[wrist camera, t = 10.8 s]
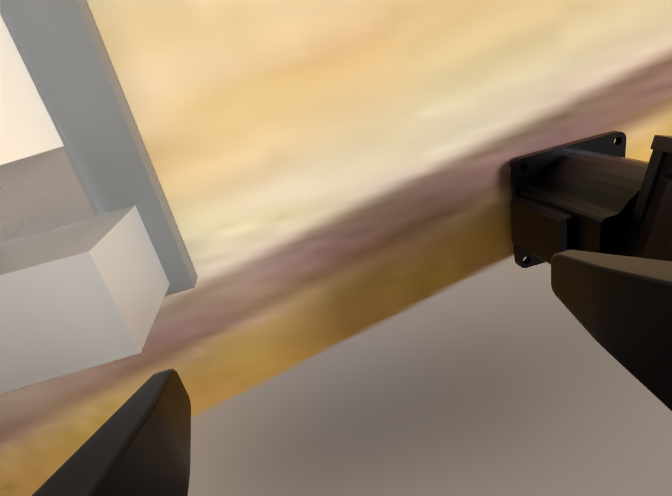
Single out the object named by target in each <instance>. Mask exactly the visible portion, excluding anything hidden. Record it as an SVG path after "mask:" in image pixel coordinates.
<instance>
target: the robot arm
mask: <svg viewBox="0 0 672 496" xmlns="http://www.w3.org/2000/svg"><path fill="white" fill-rule="evenodd" d="M615 138H616V142H615V143H614V140H615ZM650 149H653V152H652V155H651V158H650V161H649V162H645V161H640V160H634V159H629V158H625V150H626V135H625V134H624V133H623V132H619V131H612V132H608V133H604V134H600V135H597V136H593V137H589V138H586V139H582V140H578V141H575V142H571V143H567V144H564V145H560V146H556V147H553V148H549V149H545V150H542V151H538V152H534V153H530V154H527V155H523V156H519V157H517V158H515V159H514V160H513V162H512V164H511V168H510V169H511V190H512V199H511V201H510V208H511V228H512V241H513V242H514V255H515V262H516V263H517V265H519V266H521V267H523V268H527V267H531V266H534V265H537V264H541V263H544V262H547V263H549V264H551V286H552V289H553V292H554V293H555V295H556V296H557V297H558V298H559V299H560V300H561V302H562V303H563V304H564V305H565V306H566V307H567V309H569V311H570V312H571V313H572V314H573V315H574V316H575V317H576V319H577V320H578V321H579V322H580V323H581V324H582V325H583V327H584V328H585V329H586V330H587V331H588V332H589V333H590V334H591V336H592V337H593V338H594V339H595V340H596V341H597V342H598V343H599V344H600V345H601V346H602V347H603V348H604V349H606V351H608V352H609V353H610V354H611V355H612V356H613V357H614V358H615V359H616V360H617V361H618V362H619V363H620V364H622V365H623V366H624V367H625V368H626V369H627V370H628V371H629V372H630V373H631V374H632V375H633V376H634V377H636V378H637V379H638V380H639V381H640V382H641V383H642V384H643V385H644V386H645V387H646V388H647V389H648V390H650V391H651V392H652V393H653V394H654V395H655V396H656V397H657V398H658V399H659V400H660V401H661V402H662V403H664V404H665V405H666V406H667V407H668V408H669V409H670V410H671V411H672V136H663V135H655V136H654V139H653V142H652V145H651V148H650ZM522 163H523V164H524V165H523V168H522V169H521V170H519V167H520V165H521V164H522ZM526 256H527V257H526ZM524 257H526V259H525V260H524V261H523V259H524ZM190 440H191V404H190V399H189V396H188V394H187V392H186V390H185V388H184V386H183V383H182V381H181V379H180V377H179V375H178V373H177V372H176V371H175V370H174V369H168V370H165V371H162V372H158V373H155V374H154V375H153V376H152V377H151V378H150V379H149V380H148V381H147V382H146V383H145V384H144V385H143V386H142V387H141V388H140V389H139V390H138V391H136V392H135V393H134V394H133V395H132V396H131V397H130V398H129V399H128V400H127V401H126V402H125V403H124V404H123V405H122V406H121V407H120V408H119V409H118V410H117V411H116V412H115V413H114V414H113V415H112V416H111V417H110V418H109V419H108V420H107V421H106V422H105V423H104V424H103V425H102V426H101V427H100V428H99V429H98V430H97V431H96V432H95V433H94V434H93V435H92V436H91V437H90V438H89V439H88V440H87V441H86V442H85V443H84V444H83V445H82V446H81V447H80V448H79V449H78V450H77V451H76V452H75V453H74V454H73V455H72V456H71V457H70V458H69V459H68V460H67V461H66V462H65V463H64V464H63V465H62V466H61V467H60V468H59V469H58V470H57V471H56V472H55V473H54V474H53V475H52V476H51V477H50V478H49V479H48V480H47V481H46V482H45V483H44V484H43V485H42V486H41V487H40V488H39V489H38V490H37V491H36V492H35V493H34V494H33V495H32V496H187V495H188V487H189V477H190V442H191V441H190Z"/></svg>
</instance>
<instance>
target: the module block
mask: <svg viewBox="0 0 672 496" xmlns="http://www.w3.org/2000/svg"><path fill="white" fill-rule="evenodd" d="M62 146H64V145H63V142H62V140H61V138H60V136H59V134H58V132H57V130H56V128H55V126H54V124H53V122H52V120H51V118H50V116H49V114H48V112H47V110H46V107H45V105H44V103H43V101H42V99H41V97H40V95H39V93H38V91H37V89H36V87H35V85H34V83H33V81H32V79H31V77H30V75H29V72H28V70H27V68H26V66H25V64H24V62H23V60H22V58H21V56H20V54H19V52H18V50H17V48H16V46H15V44H14V42H13V40H12V37H11V35H10V33H9V31H8V29H7V27H6V25H5V23H4V21H3V19H2V17H1V15H0V165H3V164H6V163H9V162H13V161H16V160H19V159H23V158H26V157H29V156H32V155H36V154H39V153H42V152H46V151H49V150H52V149H56V148H59V147H62Z"/></svg>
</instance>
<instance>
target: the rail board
mask: <svg viewBox="0 0 672 496" xmlns="http://www.w3.org/2000/svg"><path fill="white" fill-rule="evenodd" d="M0 15H1V17H2V19H3V21H4V23H5V25H6V27H7V29H8V31H9V33H10V35H11V37H12V40H13V42H14V44H15V46H16V48H17V50H18V52H19V54H20V56H21V58H22V60H23V62H24V64H25V66H26V68H27V70H28V72H29V75H30V77H31V79H32V81H33V83H34V85H35V87H36V89H37V91H38V93H39V95H40V97H41V99H42V101H43V103H44V105H45V107H46V110H47V112H48V114H49V116H50V118H51V120H52V122H53V124H54V126H55V128H56V130H57V132H58V134H59V136H60V138H61V140H62V142H63V145H64V146H62V147H59V148H56V149H52V150H49V151H46V152H42V153H39V154H36V155H32V156H29V157H26V158H23V159H19V160H16V161H13V162H9V163H6V164H3V165H0V394H3V393H6V392H9V391H13V390H16V389H20V388H23V387H26V386H30V385H33V384H37V383H40V382H44V381H47V380H50V379H54V378H57V377H61V376H64V375H68V374H71V373H74V372H78V371H81V370H85V369H88V368H91V367H95V366H98V365H102V364H105V363H109V362H112V361H115V360H119V359H122V358H126V357H129V356H132V355H136V354H139V353H141V351H142V349H143V346H144V344H145V342H146V339H147V337H148V335H149V332H150V330H151V327H152V325H153V323H154V320H155V318H156V316H157V313H158V311H159V309H160V306H161V304H162V302H163V299H164V297H165V295H169V294H173V293H176V292H180V291H183V290H187V289H190V288H194V287H195V284H196V280H197V274H196V272H195V269H194V267H193V264H192V262H191V259H190V257H189V254H188V252H187V249H186V247H185V245H184V242H183V240H182V237H181V235H180V232H179V230H178V227H177V225H176V222H175V220H174V217H173V215H172V212H171V210H170V207H169V205H168V202H167V200H166V197H165V195H164V192H163V190H162V187H161V185H160V182H159V180H158V177H157V175H156V172H155V170H154V167H153V165H152V162H151V160H150V157H149V155H148V152H147V150H146V147H145V145H144V143H143V140H142V138H141V135H140V133H139V130H138V128H137V125H136V123H135V120H134V118H133V115H132V113H131V110H130V108H129V105H128V103H127V100H126V98H125V95H124V93H123V90H122V88H121V85H120V83H119V80H118V78H117V75H116V73H115V70H114V68H113V65H112V63H111V60H110V58H109V55H108V53H107V50H106V48H105V46H104V43H103V41H102V38H101V36H100V33H99V31H98V28H97V26H96V23H95V21H94V18H93V16H92V13H91V11H90V8H89V6H88V3H87V1H86V0H0Z"/></svg>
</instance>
